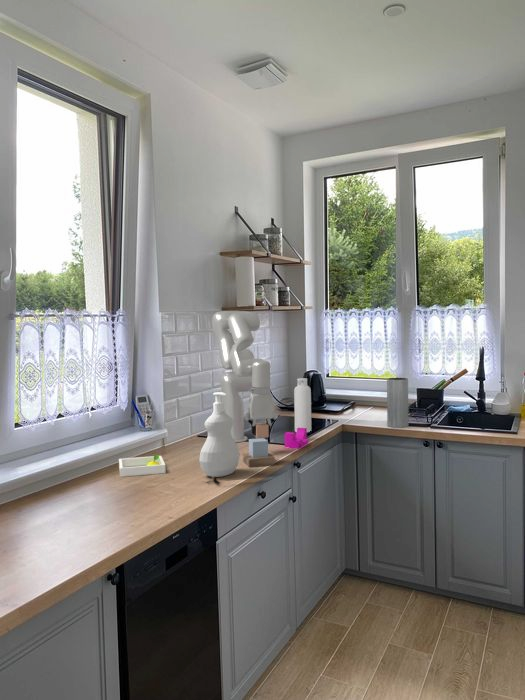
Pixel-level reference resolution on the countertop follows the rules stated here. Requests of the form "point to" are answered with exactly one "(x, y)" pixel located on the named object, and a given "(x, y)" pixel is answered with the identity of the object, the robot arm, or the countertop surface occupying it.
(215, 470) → the soap bottle
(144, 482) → the countertop surface
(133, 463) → the ceramic fruit dish rim
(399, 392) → the vase
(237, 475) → the countertop surface
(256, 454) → the slate block
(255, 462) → the walnut base plate
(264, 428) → the terracotta cube
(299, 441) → the toy block
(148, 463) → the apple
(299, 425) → the bottle
